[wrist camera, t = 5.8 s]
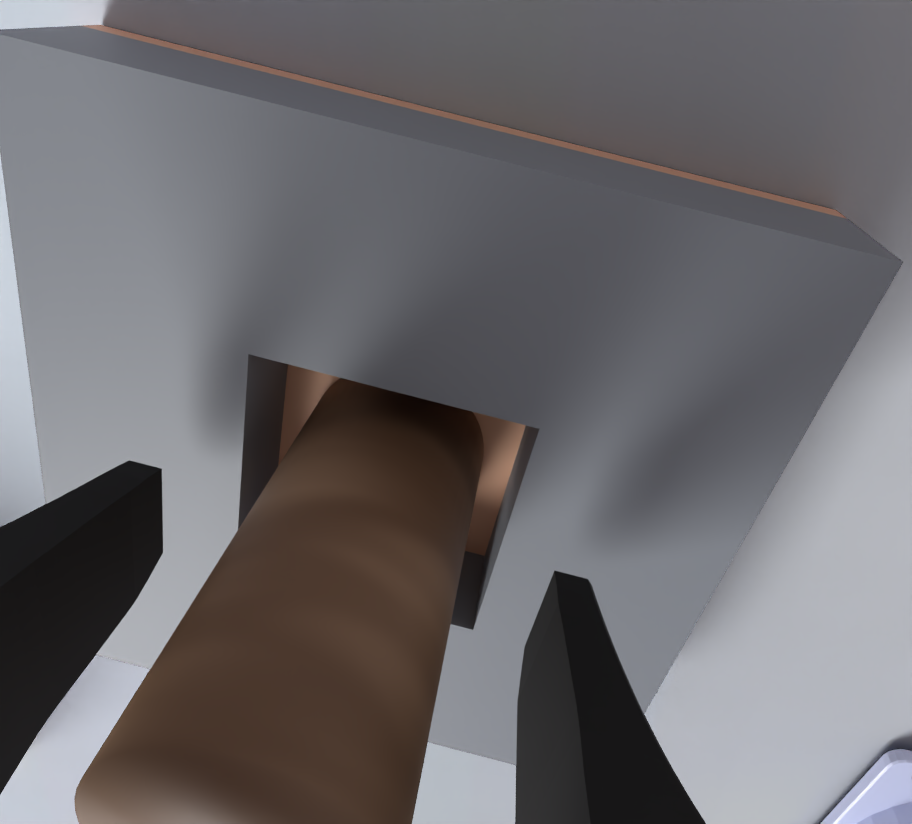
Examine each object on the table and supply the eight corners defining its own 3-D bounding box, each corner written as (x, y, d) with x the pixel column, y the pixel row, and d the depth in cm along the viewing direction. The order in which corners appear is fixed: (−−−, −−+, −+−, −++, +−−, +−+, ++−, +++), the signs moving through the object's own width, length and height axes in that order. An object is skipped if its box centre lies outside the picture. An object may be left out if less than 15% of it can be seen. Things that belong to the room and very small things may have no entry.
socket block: (836, 210, 13) (902, 262, 10) (597, 687, 20) (601, 787, 18) (100, 25, 13) (-17, 30, 10) (128, 565, 20) (64, 646, 18)
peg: (501, 390, 15) (426, 805, 7) (464, 529, 17) (375, 965, 9) (321, 346, 15) (57, 709, 7) (305, 489, 17) (89, 888, 9)
